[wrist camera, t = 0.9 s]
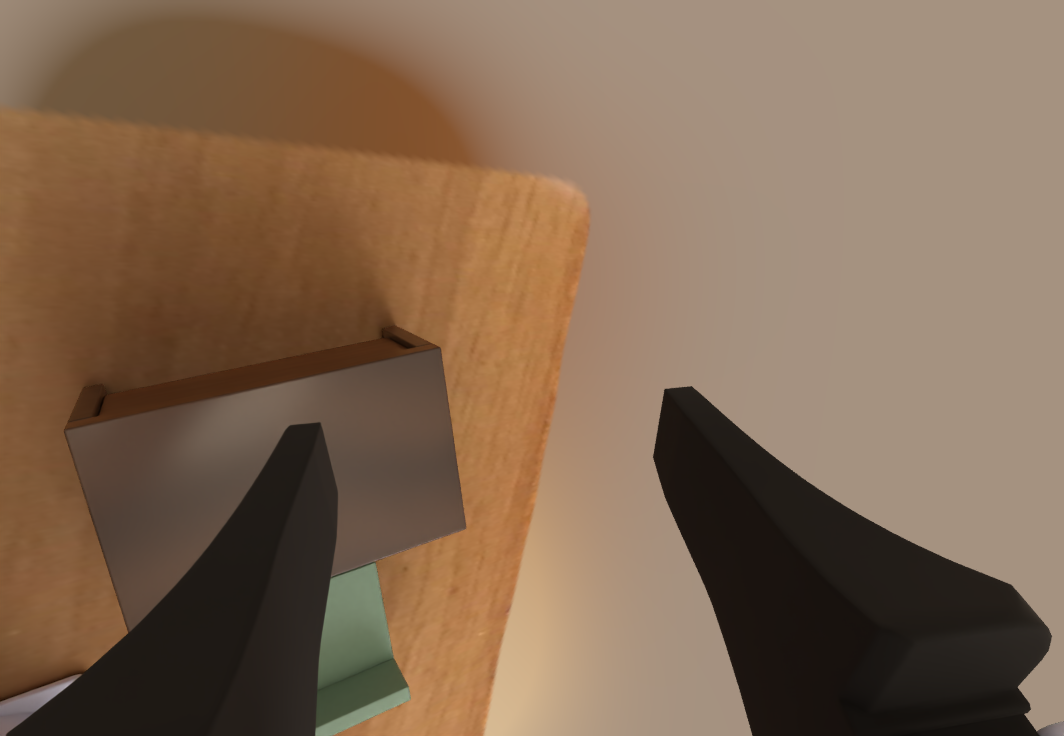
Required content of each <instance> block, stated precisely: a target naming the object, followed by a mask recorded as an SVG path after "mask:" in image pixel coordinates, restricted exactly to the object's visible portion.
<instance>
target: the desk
mask: <svg viewBox="0 0 1064 736" xmlns="http://www.w3.org/2000/svg"><path fill="white" fill-rule="evenodd" d="M382 333H383V338H382V339H377V340H372V341H367V342H362V343H357V344H352V345H348V346H343V347H338V348H333V349H328V350H323V351H318V352H313V353H309V354H304V355H299V356H294V357H289V358H284V359H279V360H275V361H270V362H265V363H260V364H255V365H250V366H245V367H240V368H236V369H231V370H226V371H221V372H216V373H211V374H206V375H201V376H197V377H192V378H187V379H182V380H177V381H172V382H167V383H163V384H158V385H153V386H148V387H143V388H138V389H133V390H128V391H124V392H119V393H114V394H109V395H107V393H106V390H105V386H104V385H103V384H99V385H94V386H89V387H84V388H83V389H82V391H81V393H80V396H79V398H78V400H77V402H76V405H75V407H74V409H73V411H72V413H71V416H70V418H69V420H68V423H67V425H66V427H65V429H64V434H65V437H66V440H67V443H68V446H69V449H70V452H71V455H72V459H73V462H74V465H75V468H76V471H77V474H78V477H79V480H80V483H81V487H82V490H83V493H84V496H85V499H86V502H87V505H88V508H89V512H90V515H91V518H92V521H93V524H94V527H95V530H96V533H97V536H98V540H99V543H100V546H101V549H102V552H103V555H104V558H105V561H106V564H107V568H108V571H109V574H110V577H111V580H112V583H113V586H114V589H115V593H116V596H117V599H118V602H119V605H120V608H121V611H122V614H123V617H124V621H125V624H126V627H127V630H128V633H129V632H130V631H131V630H132V629H133V628H134V627H135V626H136V625H137V624H138V623H139V622H140V621H141V620H142V619H143V618H144V617H145V616H146V615H147V614H148V613H149V612H150V611H151V610H152V609H153V608H154V607H155V606H156V605H157V604H158V603H159V602H160V601H161V600H162V599H163V598H164V597H165V596H166V595H167V593H168V592H169V591H170V590H171V589H172V588H173V587H174V586H175V585H176V584H177V583H178V582H179V580H180V579H181V578H182V577H183V576H184V575H185V574H186V572H187V571H188V570H189V569H190V568H191V567H192V565H193V564H194V563H195V562H196V561H197V560H198V558H199V557H200V556H201V555H202V553H203V552H204V551H205V550H206V548H207V547H208V546H209V545H210V543H211V542H212V541H213V539H214V538H215V537H216V535H217V534H218V533H219V531H220V530H221V529H222V527H223V526H224V525H225V523H226V522H227V521H228V519H229V518H230V517H231V515H232V514H233V513H234V511H235V510H236V508H237V507H238V505H239V504H240V502H241V501H242V499H243V498H244V496H245V495H246V493H247V492H248V490H249V489H250V487H251V486H252V484H253V483H254V481H255V480H256V478H257V477H258V475H259V474H260V472H261V470H262V469H263V467H264V465H265V464H266V462H267V461H268V459H269V457H270V455H271V454H272V452H273V450H274V449H275V447H276V445H277V443H278V442H279V440H280V438H281V436H282V435H283V433H284V431H285V429H286V428H287V427H288V426H289V425H296V424H306V423H317V422H321V425H322V429H323V433H324V437H325V441H326V445H327V449H328V453H329V457H330V461H331V465H332V469H333V473H334V477H335V481H336V485H337V489H338V518H337V539H336V546H335V553H334V560H333V567H332V573H331V577H332V576H335V575H338V574H340V573H343V572H346V571H349V570H352V569H354V568H357V567H360V566H363V565H366V564H369V563H371V562H374V561H377V560H380V559H383V558H386V557H388V556H391V555H394V554H397V553H400V552H402V551H405V550H408V549H411V548H414V547H417V546H419V545H422V544H425V543H428V542H431V541H433V540H436V539H439V538H442V537H445V536H448V535H450V534H453V533H456V532H459V531H462V530H464V529H466V522H465V515H464V508H463V501H462V494H461V487H460V480H459V473H458V466H457V459H456V452H455V445H454V438H453V431H452V424H451V417H450V410H449V403H448V396H447V389H446V382H445V375H444V368H443V361H442V354H441V348H440V347H438V346H436V345H434V344H432V343H430V342H428V341H426V340H424V339H422V338H420V337H418V336H416V335H414V334H412V333H410V332H408V331H406V330H404V329H402V328H400V327H397V326H391V327H386V328H382Z"/></svg>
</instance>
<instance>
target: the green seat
mask: <svg viewBox="0 0 1064 736" xmlns="http://www.w3.org/2000/svg"><path fill="white" fill-rule="evenodd" d="M409 700H411V697H410V691H409V686H408V684H407V683H406V681H405V679H404V677H403V675H402V673H401V671H400V669H399V667H398V665H397V663H396V661H395V659H394V657H393V652H392V646H391V641H390V636H389V631H388V625H387V620H386V615H385V610H384V604H383V599H382V594H381V588H380V583H379V578H378V573H377V567H376V563H375V561H374V562H371V563H369V564H366V565H363V566H360V567H357V568H354V569H352V570H349V571H346V572H343V573H340V574H338V575H335V576H332V577H331V580H330V586H329V593H328V599H327V606H326V612H325V618H324V625H323V631H322V638H321V647H320V656H319V669H318V688H317V708H316V733H315V736H333V735H335V734H337V733H339V732H341V731H344V730H346V729H348V728H350V727H352V726H354V725H357V724H359V723H361V722H363V721H365V720H368V719H370V718H372V717H374V716H376V715H378V714H381V713H383V712H385V711H387V710H389V709H391V708H394V707H396V706H398V705H400V704H402V703H405V702H407V701H409Z"/></svg>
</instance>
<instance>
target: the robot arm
mask: <svg viewBox="0 0 1064 736" xmlns="http://www.w3.org/2000/svg"><path fill="white" fill-rule="evenodd" d="M653 458H654V462H655V465H656V469H657V472H658V475H659V479H660V482H661V485H662V489H663V492H664V495H665V498H666V501H667V503H668V505H669V508H670V510H671V512H672V514H673V517H674V519H675V521H676V523H677V526H678V528H679V530H680V532H681V535H682V537H683V539H684V541H685V543H686V546H687V548H688V550H689V552H690V554H691V557H692V559H693V561H694V563H695V565H696V568H697V569H698V572H699V574H700V576H701V579H702V581H703V583H704V585H705V588H706V590H707V593H708V595H709V598H710V600H711V602H712V605H713V608H714V611H715V614H716V617H717V620H718V623H719V626H720V629H721V632H722V635H723V638H724V641H725V644H726V647H727V651H728V654H729V657H730V660H731V663H732V667H733V670H734V673H735V676H736V680H737V683H738V686H739V689H740V693H741V696H742V700H743V704H744V707H745V711H746V714H747V718H748V721H749V725H750V728H751V732H752V735H753V736H1064V721H1063V722H1058V723H1055V724H1051V725H1049V726H1046V727H1044V728H1042V729H1040V730H1038V731H1036V730H1035V729H1034V727H1033V726H1032V724H1031V723H1030V722H1029V720H1028V719H1027V718H1026V716H1025V715H1024V714H1025V713H1028V712H1029V711H1030V710H1031V708H1030V704H1029V702H1028V701H1027V699H1026V698H1025V697H1024V695H1023V694H1022V693H1021V691H1020V690H1019V689H1018V686H1019V685H1020V683H1021V682H1022V681H1023V680H1024V679H1025V678H1026V677H1027V676H1028V674H1030V672H1031V671H1032V670H1033V669H1034V668H1035V667H1036V666H1037V665H1038V663H1039V662H1040V661H1041V660H1042V659H1043V657H1044V656H1045V655H1046V653H1047V652H1048V650H1049V646H1050V643H1051V637H1052V635H1051V633H1050V631H1049V629H1048V627H1047V626H1046V625H1045V624H1044V622H1043V621H1042V620H1041V619H1040V618H1039V617H1038V615H1037V614H1036V613H1035V612H1034V611H1033V609H1032V608H1031V607H1030V606H1029V605H1028V604H1027V602H1026V601H1025V600H1024V599H1023V598H1022V596H1021V595H1020V594H1019V593H1018V592H1017V591H1016V590H1015V589H1014V588H1013V586H1012V585H1010V584H1008V583H1005V582H1003V581H1000V580H998V579H995V578H993V577H990V576H988V575H985V574H983V573H980V572H978V571H975V570H973V569H970V568H968V567H965V566H963V565H960V564H958V563H955V562H953V561H951V560H948V559H946V558H944V557H942V556H939V555H937V554H935V553H933V552H931V551H929V550H927V549H924V548H922V547H920V546H918V545H916V544H914V543H912V542H910V541H908V540H906V539H904V538H901V537H900V536H898V535H896V534H894V533H892V532H890V531H888V530H886V529H885V528H883V527H881V526H879V525H877V524H875V523H874V522H872V521H870V520H868V519H866V518H864V517H863V516H861V515H859V514H857V513H856V512H854V511H852V510H851V509H849V508H847V507H846V506H844V505H842V504H841V503H839V502H838V501H836V500H834V499H833V498H831V497H830V496H828V495H827V494H825V493H824V492H822V491H821V490H819V489H817V488H816V487H815V486H813V485H812V484H810V483H809V482H807V481H806V480H804V479H803V478H801V477H800V476H798V475H797V474H796V473H795V472H793V471H792V470H791V469H789V468H788V467H787V466H785V465H784V464H783V463H781V462H780V461H779V460H777V459H776V458H775V457H774V456H772V455H771V454H770V453H769V452H767V451H766V450H765V449H763V448H762V447H761V446H760V445H759V444H757V443H756V442H755V441H754V440H753V439H751V438H750V437H749V436H748V435H746V434H745V433H744V432H743V431H742V430H741V429H740V428H738V427H737V426H736V425H735V424H734V423H733V422H732V421H730V420H729V419H728V418H727V417H726V416H725V415H724V414H722V413H721V412H720V411H719V410H718V409H717V408H716V407H714V405H712V404H711V403H710V402H709V401H708V400H707V399H706V398H704V397H703V396H702V395H701V394H700V393H699V392H698V391H697V390H695V389H694V388H693V387H692V386H691V387H681V388H670V389H665V390H664V396H663V402H662V407H661V413H660V419H659V425H658V432H657V437H656V444H655V449H654V455H653ZM337 518H338V489H337V485H336V481H335V477H334V473H333V469H332V465H331V461H330V457H329V453H328V449H327V445H326V441H325V437H324V433H323V429H322V425H321V422H317V423H306V424H296V425H289V426H288V427H287V428H286V429H285V431H284V433H283V435H282V436H281V438H280V440H279V442H278V443H277V445H276V447H275V449H274V450H273V452H272V454H271V455H270V457H269V459H268V461H267V462H266V464H265V465H264V467H263V469H262V470H261V472H260V474H259V475H258V477H257V478H256V480H255V481H254V483H253V484H252V486H251V487H250V489H249V490H248V492H247V493H246V495H245V496H244V498H243V499H242V501H241V502H240V504H239V505H238V507H237V508H236V510H235V511H234V513H233V514H232V515H231V517H230V518H229V519H228V521H227V522H226V523H225V525H224V526H223V527H222V529H221V530H220V531H219V533H218V534H217V535H216V537H215V538H214V539H213V541H212V542H211V543H210V545H209V546H208V547H207V548H206V550H205V551H204V552H203V553H202V555H201V556H200V557H199V558H198V560H197V561H196V562H195V563H194V564H193V565H192V567H191V568H190V569H189V570H188V571H187V572H186V574H185V575H184V576H183V577H182V578H181V579H180V580H179V582H178V583H177V584H176V585H175V586H174V587H173V588H172V589H171V590H170V591H169V592H168V593H167V595H166V596H165V597H164V598H163V599H162V600H161V601H160V602H159V603H158V604H157V605H156V606H155V607H154V608H153V609H152V610H151V611H150V612H149V613H148V614H147V615H146V616H145V617H144V618H143V619H142V620H141V621H140V622H139V623H138V624H137V625H136V626H135V627H134V628H133V629H132V630H131V631H130V632H129V633H128V634H127V635H126V636H125V637H124V638H122V639H121V640H120V641H119V642H118V643H117V644H116V645H115V646H114V647H112V648H111V649H110V650H109V651H108V652H107V653H106V654H105V655H104V656H102V657H101V658H100V659H99V660H98V661H97V662H96V663H95V664H94V665H92V666H91V667H90V668H89V669H88V670H87V671H86V672H84V673H83V674H77V675H73V676H70V677H68V678H65V679H62V680H59V681H57V682H54V683H51V684H48V685H45V686H43V687H40V688H37V689H34V690H31V691H29V692H26V693H23V694H20V695H18V696H15V697H12V698H9V699H6V700H4V701H1V702H0V736H315V733H316V708H317V688H318V669H319V656H320V647H321V638H322V631H323V625H324V618H325V612H326V606H327V599H328V593H329V586H330V580H331V573H332V567H333V560H334V553H335V546H336V539H337Z"/></svg>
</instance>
